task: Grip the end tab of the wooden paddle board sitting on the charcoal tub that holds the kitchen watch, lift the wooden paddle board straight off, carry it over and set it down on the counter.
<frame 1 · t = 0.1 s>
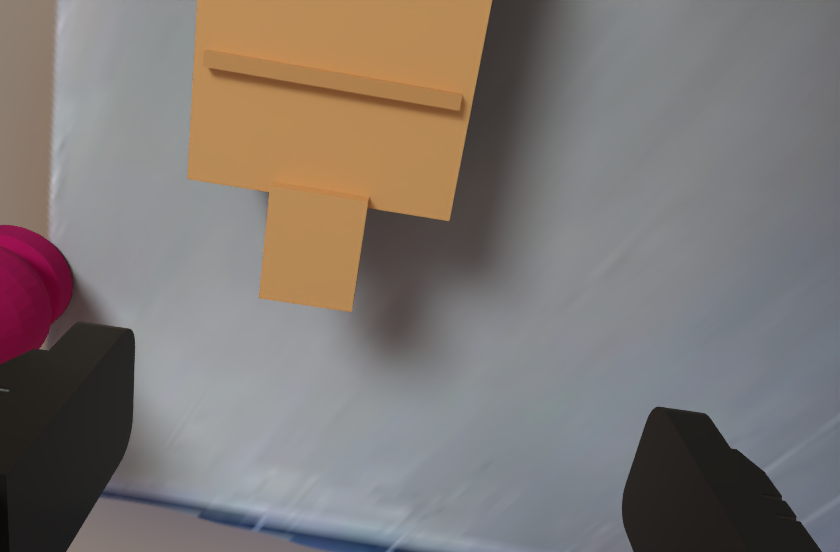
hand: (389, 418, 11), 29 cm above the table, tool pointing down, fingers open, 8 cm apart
pepper mill: (19, 275, 42), on the table
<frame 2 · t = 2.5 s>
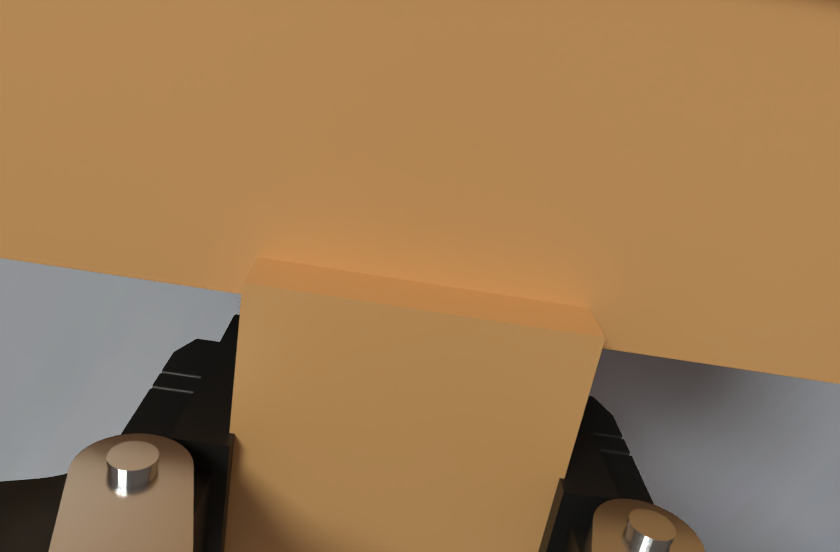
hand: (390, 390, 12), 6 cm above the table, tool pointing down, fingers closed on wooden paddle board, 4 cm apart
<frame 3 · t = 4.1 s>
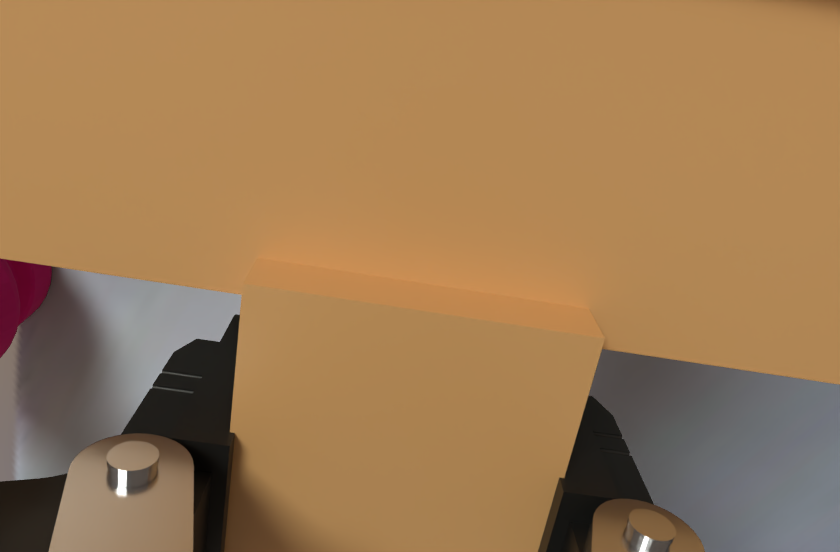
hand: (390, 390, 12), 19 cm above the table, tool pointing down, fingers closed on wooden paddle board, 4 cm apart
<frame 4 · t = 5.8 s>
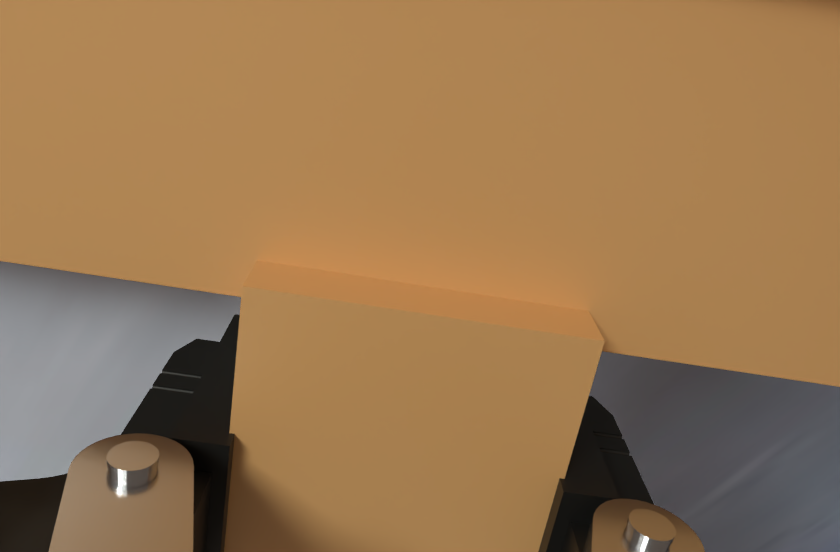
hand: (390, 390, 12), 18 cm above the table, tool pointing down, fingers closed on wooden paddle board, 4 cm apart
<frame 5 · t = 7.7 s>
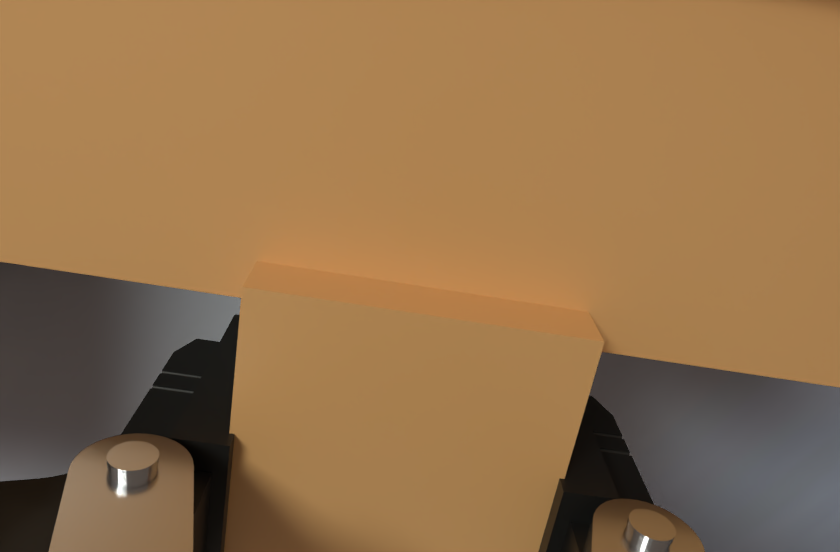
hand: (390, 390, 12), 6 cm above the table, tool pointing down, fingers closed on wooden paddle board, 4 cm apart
when the fingers open (1 cm above the table, at t = 9.1 s): wooden paddle board drops 2 cm, on the table.
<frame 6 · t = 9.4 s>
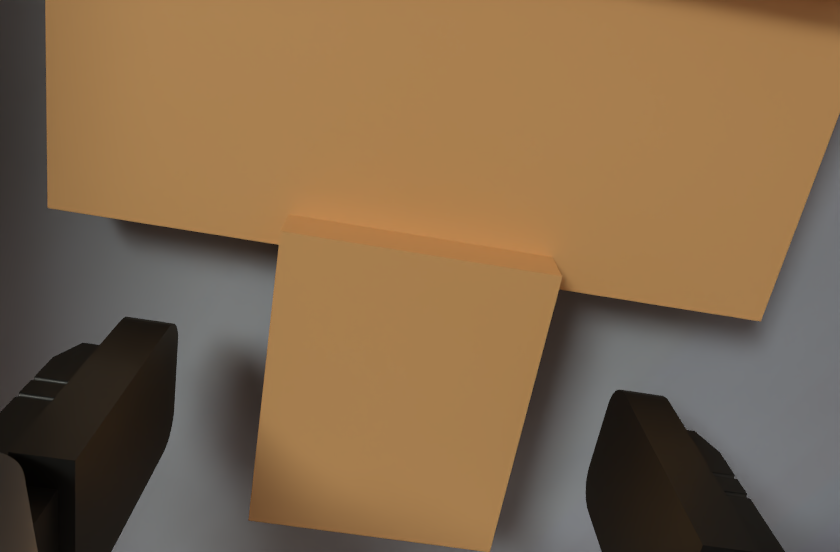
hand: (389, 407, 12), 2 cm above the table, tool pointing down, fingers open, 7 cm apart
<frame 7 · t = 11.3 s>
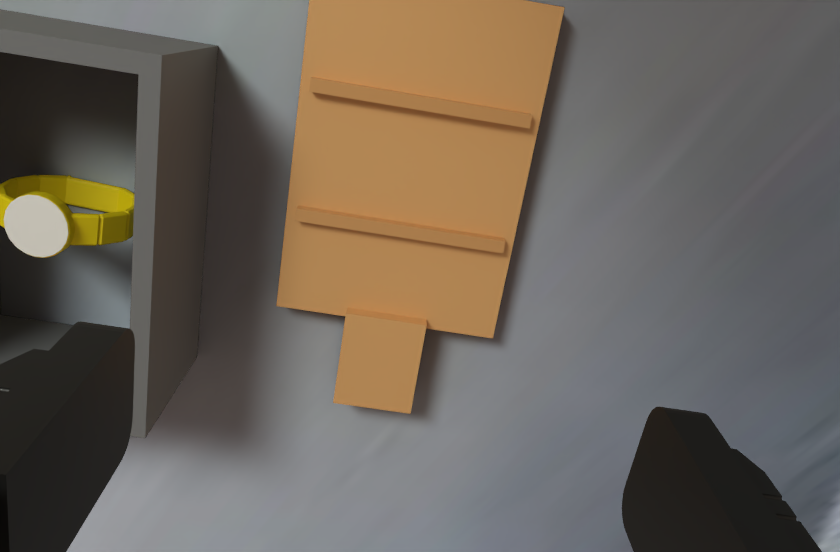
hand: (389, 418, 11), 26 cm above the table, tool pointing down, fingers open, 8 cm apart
tub: (94, 195, 36), on the table
watch: (96, 194, 37), resting in tub
wooden paddle board: (410, 162, 35), on the table
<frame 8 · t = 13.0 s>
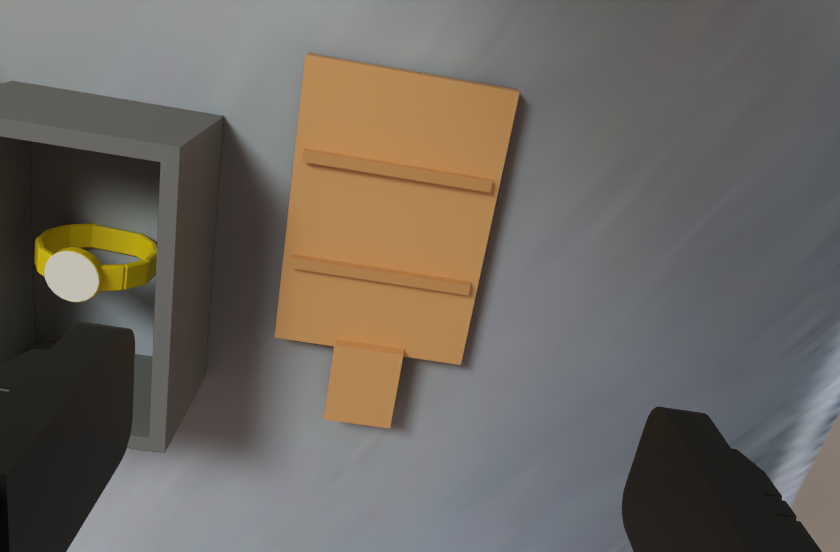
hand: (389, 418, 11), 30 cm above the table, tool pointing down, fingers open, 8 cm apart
tub: (116, 239, 42), on the table
watch: (118, 238, 42), resting in tub
wooden paddle board: (389, 217, 41), on the table
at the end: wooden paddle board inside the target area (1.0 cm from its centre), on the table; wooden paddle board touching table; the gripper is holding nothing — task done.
